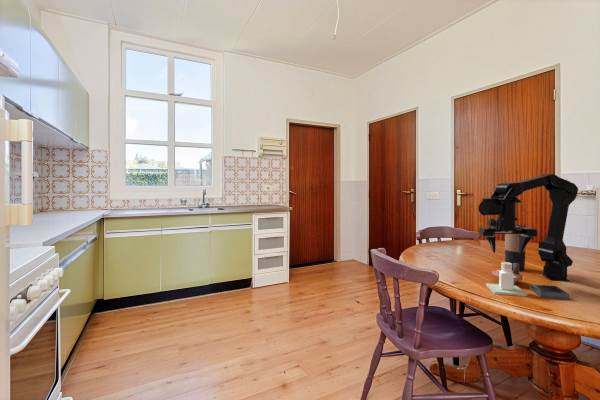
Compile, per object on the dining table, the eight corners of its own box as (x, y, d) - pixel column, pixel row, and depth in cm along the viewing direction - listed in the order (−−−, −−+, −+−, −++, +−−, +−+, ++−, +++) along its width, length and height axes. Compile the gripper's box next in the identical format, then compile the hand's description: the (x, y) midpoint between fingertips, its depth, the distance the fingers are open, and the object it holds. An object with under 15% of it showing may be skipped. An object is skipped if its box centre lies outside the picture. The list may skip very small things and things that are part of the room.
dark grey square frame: (555, 291, 105) (555, 285, 105) (569, 299, 98) (569, 293, 98) (529, 289, 108) (529, 284, 108) (541, 297, 100) (541, 291, 100)
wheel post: (512, 280, 118) (512, 275, 118) (518, 285, 112) (518, 280, 112) (495, 279, 119) (495, 274, 119) (500, 284, 114) (500, 279, 114)
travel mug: (519, 272, 129) (520, 227, 128) (501, 267, 135) (501, 225, 134) (528, 269, 132) (529, 226, 131) (510, 265, 139) (511, 224, 138)
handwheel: (529, 280, 111) (529, 267, 111) (504, 281, 110) (505, 268, 110) (508, 272, 121) (508, 260, 121) (485, 273, 120) (486, 261, 120)
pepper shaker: (500, 289, 106) (500, 263, 105) (498, 286, 109) (499, 261, 109) (513, 291, 104) (514, 265, 103) (511, 287, 107) (512, 262, 107)
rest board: (516, 287, 110) (516, 285, 110) (527, 296, 101) (527, 294, 101) (486, 285, 113) (486, 283, 112) (494, 293, 104) (494, 291, 104)
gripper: (524, 212, 121) (523, 249, 122) (474, 212, 126) (474, 248, 127) (538, 215, 110) (538, 255, 111) (483, 215, 115) (483, 254, 116)
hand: (506, 252), depth 116 cm, fingers open, 9 cm apart
